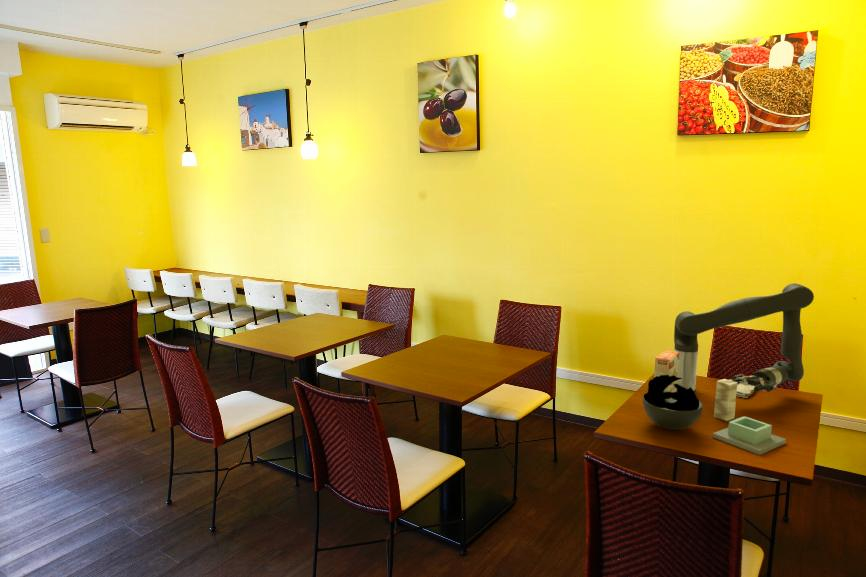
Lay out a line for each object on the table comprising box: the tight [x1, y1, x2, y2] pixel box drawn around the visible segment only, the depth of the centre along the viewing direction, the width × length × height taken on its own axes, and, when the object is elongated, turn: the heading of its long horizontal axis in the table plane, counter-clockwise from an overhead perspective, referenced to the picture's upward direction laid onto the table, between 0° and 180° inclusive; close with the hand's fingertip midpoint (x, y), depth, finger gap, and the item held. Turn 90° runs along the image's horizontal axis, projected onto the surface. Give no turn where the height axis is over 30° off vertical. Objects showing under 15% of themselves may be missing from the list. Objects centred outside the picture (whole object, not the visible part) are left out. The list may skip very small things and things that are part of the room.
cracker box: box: [653, 349, 680, 392], centre depth 225 cm, size 14×6×21 cm, turn 143°
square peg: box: [713, 378, 738, 422], centre depth 213 cm, size 5×5×14 cm
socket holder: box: [712, 416, 787, 456], centre depth 194 cm, size 16×16×6 cm
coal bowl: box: [641, 375, 704, 431], centre depth 204 cm, size 20×20×19 cm
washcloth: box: [729, 379, 755, 399], centre depth 243 cm, size 12×18×3 cm, turn 140°
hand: (743, 386), depth 218 cm, fingers open, 8 cm apart
